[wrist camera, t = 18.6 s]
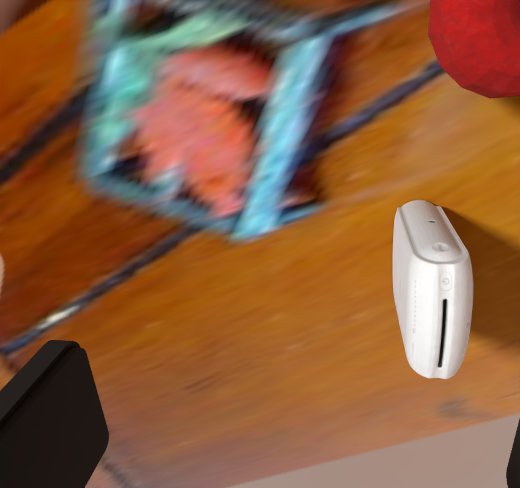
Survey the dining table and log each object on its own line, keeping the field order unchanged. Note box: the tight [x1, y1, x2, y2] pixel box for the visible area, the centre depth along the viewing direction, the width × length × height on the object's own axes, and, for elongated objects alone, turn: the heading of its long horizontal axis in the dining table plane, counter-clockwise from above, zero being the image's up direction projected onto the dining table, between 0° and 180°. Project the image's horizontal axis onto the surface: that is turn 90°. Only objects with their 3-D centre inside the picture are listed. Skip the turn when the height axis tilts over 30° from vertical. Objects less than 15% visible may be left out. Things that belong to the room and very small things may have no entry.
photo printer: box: [393, 200, 473, 379], centre depth 34 cm, size 10×4×12 cm, turn 6°
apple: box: [428, 0, 520, 98], centre depth 26 cm, size 10×10×11 cm
